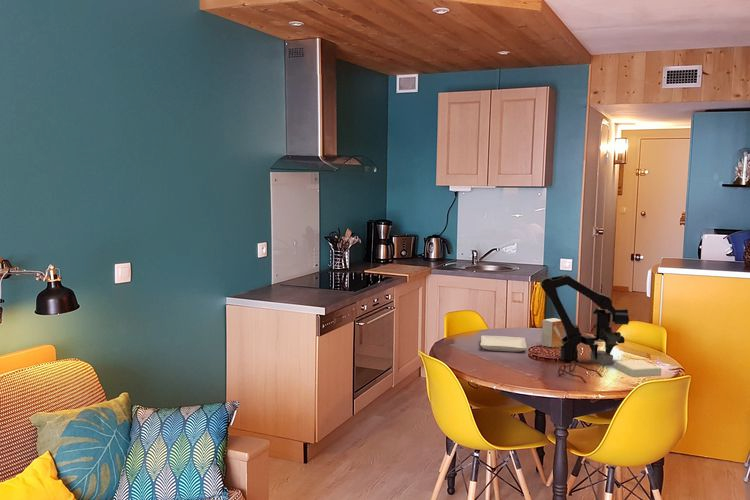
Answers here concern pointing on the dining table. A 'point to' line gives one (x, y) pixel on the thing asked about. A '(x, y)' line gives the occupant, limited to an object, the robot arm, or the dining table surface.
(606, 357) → the block
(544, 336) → the small box
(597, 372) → the glasses
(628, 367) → the stand
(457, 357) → the dining table surface
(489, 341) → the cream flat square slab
